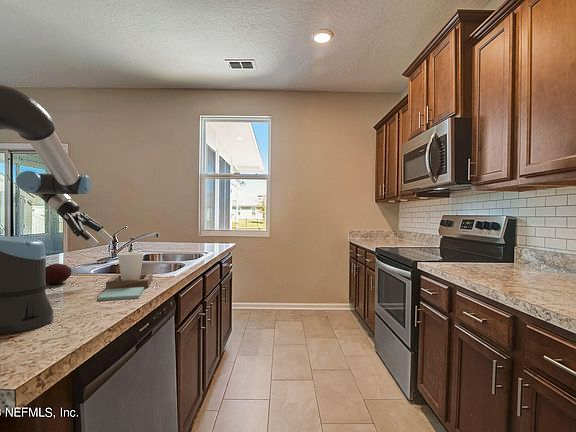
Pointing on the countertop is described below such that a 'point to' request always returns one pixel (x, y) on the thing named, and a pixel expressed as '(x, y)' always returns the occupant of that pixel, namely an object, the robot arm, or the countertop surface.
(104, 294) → the mat
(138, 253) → the foam cup
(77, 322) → the countertop surface
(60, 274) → the potato
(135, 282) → the brown flat square frame
